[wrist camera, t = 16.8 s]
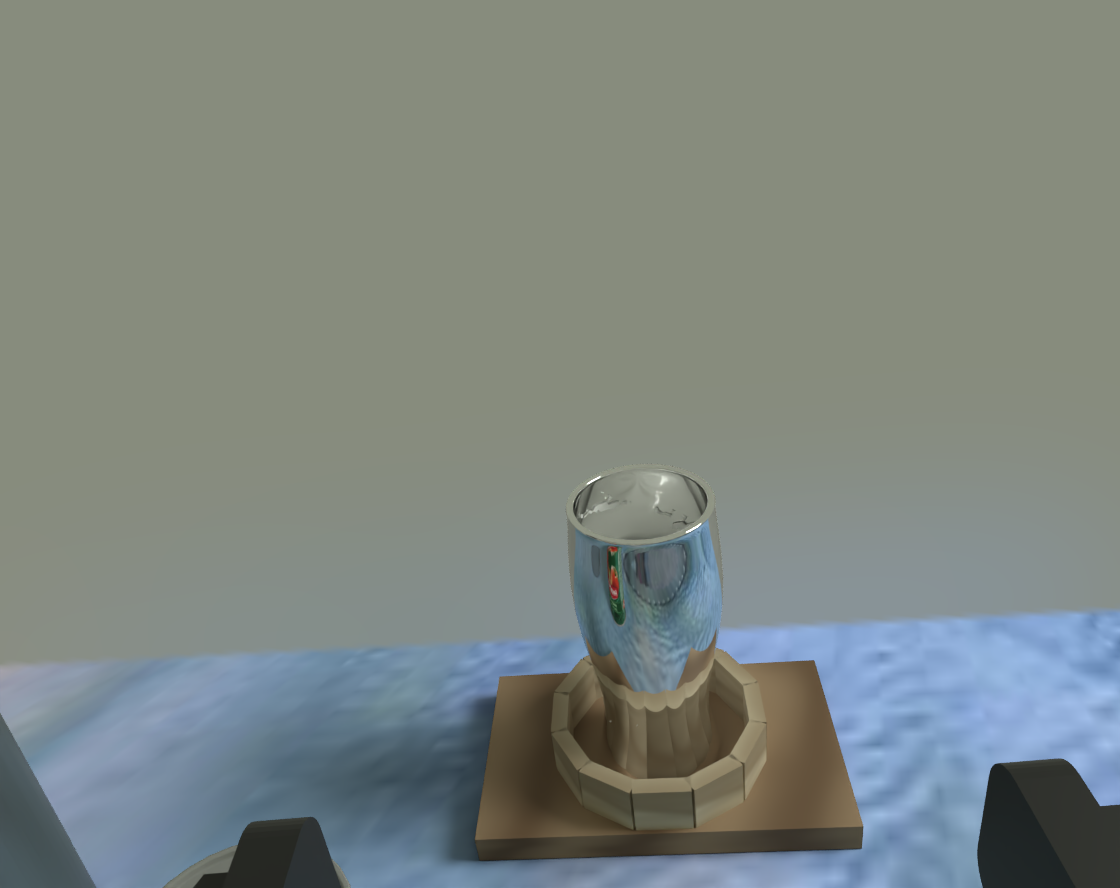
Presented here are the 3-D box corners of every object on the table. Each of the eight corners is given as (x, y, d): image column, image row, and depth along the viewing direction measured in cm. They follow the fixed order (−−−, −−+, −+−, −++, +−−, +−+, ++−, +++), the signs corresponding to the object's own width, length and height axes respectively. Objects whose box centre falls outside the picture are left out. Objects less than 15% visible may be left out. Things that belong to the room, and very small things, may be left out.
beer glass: (611, 689, 50) (585, 457, 43) (737, 706, 48) (730, 465, 41) (576, 788, 44) (539, 539, 37) (717, 813, 42) (706, 553, 35)
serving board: (479, 860, 43) (466, 803, 41) (503, 695, 53) (493, 643, 51) (861, 848, 41) (865, 788, 39) (813, 680, 51) (815, 625, 49)
